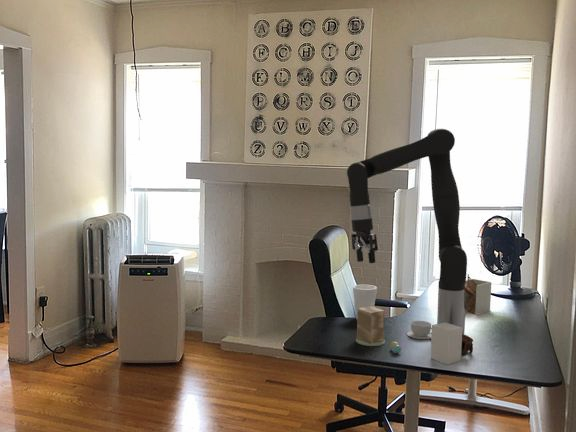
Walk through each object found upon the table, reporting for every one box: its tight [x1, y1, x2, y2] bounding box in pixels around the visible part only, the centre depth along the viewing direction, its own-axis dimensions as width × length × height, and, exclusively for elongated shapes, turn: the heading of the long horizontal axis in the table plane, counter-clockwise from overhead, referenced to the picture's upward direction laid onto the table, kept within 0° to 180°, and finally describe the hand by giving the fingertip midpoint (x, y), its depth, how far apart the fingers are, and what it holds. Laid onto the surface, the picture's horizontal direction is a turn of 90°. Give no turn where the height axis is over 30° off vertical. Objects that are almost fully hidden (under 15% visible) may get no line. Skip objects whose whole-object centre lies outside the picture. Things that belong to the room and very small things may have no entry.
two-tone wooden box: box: [464, 273, 492, 315], centre depth 264 cm, size 9×11×17 cm
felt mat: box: [355, 338, 386, 347], centre depth 220 cm, size 10×10×1 cm
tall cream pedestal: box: [430, 322, 462, 365], centre depth 201 cm, size 6×7×11 cm
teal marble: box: [391, 344, 402, 355], centre depth 207 cm, size 3×3×3 cm
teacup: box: [406, 320, 432, 340], centre depth 228 cm, size 10×10×5 cm
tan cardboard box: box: [356, 306, 386, 344], centre depth 219 cm, size 6×7×11 cm
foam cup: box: [352, 284, 378, 320], centre depth 248 cm, size 10×9×13 cm
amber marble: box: [390, 341, 400, 350], centre depth 210 cm, size 3×3×3 cm
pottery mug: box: [461, 333, 474, 357], centre depth 207 cm, size 12×10×8 cm
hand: (366, 262), depth 226 cm, fingers open, 8 cm apart
